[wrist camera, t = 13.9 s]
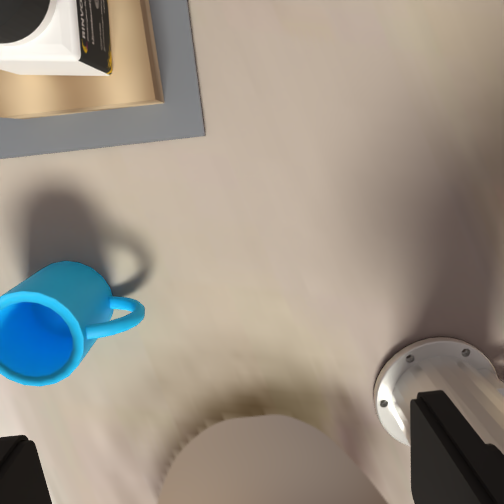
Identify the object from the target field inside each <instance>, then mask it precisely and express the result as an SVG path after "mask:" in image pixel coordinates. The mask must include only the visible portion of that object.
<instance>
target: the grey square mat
mask: <svg viewBox="0 0 504 504" xmlns="http://www.w3.org/2000/svg"><path fill="white" fill-rule="evenodd" d="M149 5H150V12H151V18H152V25H153V31H154V38H155V44H156V51H157V57H158V64H159V70H160V77H161V83H162V90H163V96H164V103H162V104H153V105H144V106H136V107H127V108H118V109H109V110H100V111H92V112H83V113H74V114H65V115H56V116H48V117H39V118H30V119H14V118H1V117H0V159H4V158H13V157H22V156H31V155H40V154H49V153H58V152H66V151H75V150H84V149H93V148H102V147H111V146H120V145H128V144H137V143H146V142H155V141H164V140H173V139H182V138H190V137H199V136H205V130H204V122H203V114H202V107H201V99H200V92H199V84H198V77H197V69H196V62H195V54H194V47H193V39H192V32H191V24H190V16H189V9H188V1H187V0H149Z"/></svg>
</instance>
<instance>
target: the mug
mask: <svg viewBox="0 0 504 504" xmlns="http://www.w3.org/2000/svg"><path fill="white" fill-rule="evenodd" d="M113 309H122V310H128V311H131V312H132V313H130V314H128V315H126V316H124V317H121V318H118V319H115V320H111V321H110V319H111V316H112V314H113ZM144 315H145V308H144V306H143V305H142V304H141V303H140V302H139V301H137V300H134V299H131V298H126V297H117V296H112V292H111V289H110V287H109V285H108V284H107V282H106V281H105V279H104V278H103V277H102V276H101V275H100V274H99V273H98V272H96V271H95V270H94V269H93V268H91V267H89V266H86V265H84V264H81V263H79V262H71V261H61V262H57V263H52V264H50V265H48V266H46V267H45V268H43V269H41V270H40V271H38V272H37V273H35V274H34V275H32V276H31V277H29V278H28V279H26V280H25V281H23V282H22V283H20V284H19V285H17V286H15V287H14V288H12V289H11V290H9V291H8V292H6V293H5V294H3V295H2V296H0V374H2V375H3V376H5V377H6V378H7V379H9V380H12V381H15V382H18V383H20V384H23V385H31V386H44V385H50V384H55V383H57V382H59V381H61V380H63V379H64V378H66V377H68V376H69V375H70V374H71V373H72V372H73V371H74V370H75V369H76V368H77V366H78V365H79V364H80V362H81V361H82V360H83V358H84V357H85V355H86V354H87V353H88V351H89V350H90V348H91V347H92V346H93V344H94V343H95V341H96V340H97V339H98V338H101V337H106V336H110V335H114V334H117V333H121V332H124V331H127V330H129V329H130V328H132V327H134V326H136V325H138V324H139V323H140V322H141V321H142V320H143V318H144Z"/></svg>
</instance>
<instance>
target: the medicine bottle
mask: <svg viewBox="0 0 504 504" xmlns="http://www.w3.org/2000/svg"><path fill="white" fill-rule="evenodd" d="M0 70H4V71H8V72H11V73H15V74H19V75H72V76H109V75H111V74H112V57H111V43H110V28H109V14H108V0H0Z"/></svg>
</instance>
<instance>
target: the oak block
mask: <svg viewBox="0 0 504 504" xmlns="http://www.w3.org/2000/svg"><path fill="white" fill-rule="evenodd" d="M108 14H109V28H110V43H111V57H112V74H111V75H109V76H72V75H19V74H15V73H11V72H8V71H4V70H0V117H1V118H14V119H30V118H39V117H48V116H56V115H65V114H74V113H83V112H92V111H100V110H109V109H118V108H127V107H136V106H144V105H153V104H162V103H164V96H163V90H162V83H161V77H160V70H159V64H158V57H157V51H156V44H155V38H154V31H153V25H152V18H151V12H150V5H149V0H108Z"/></svg>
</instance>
